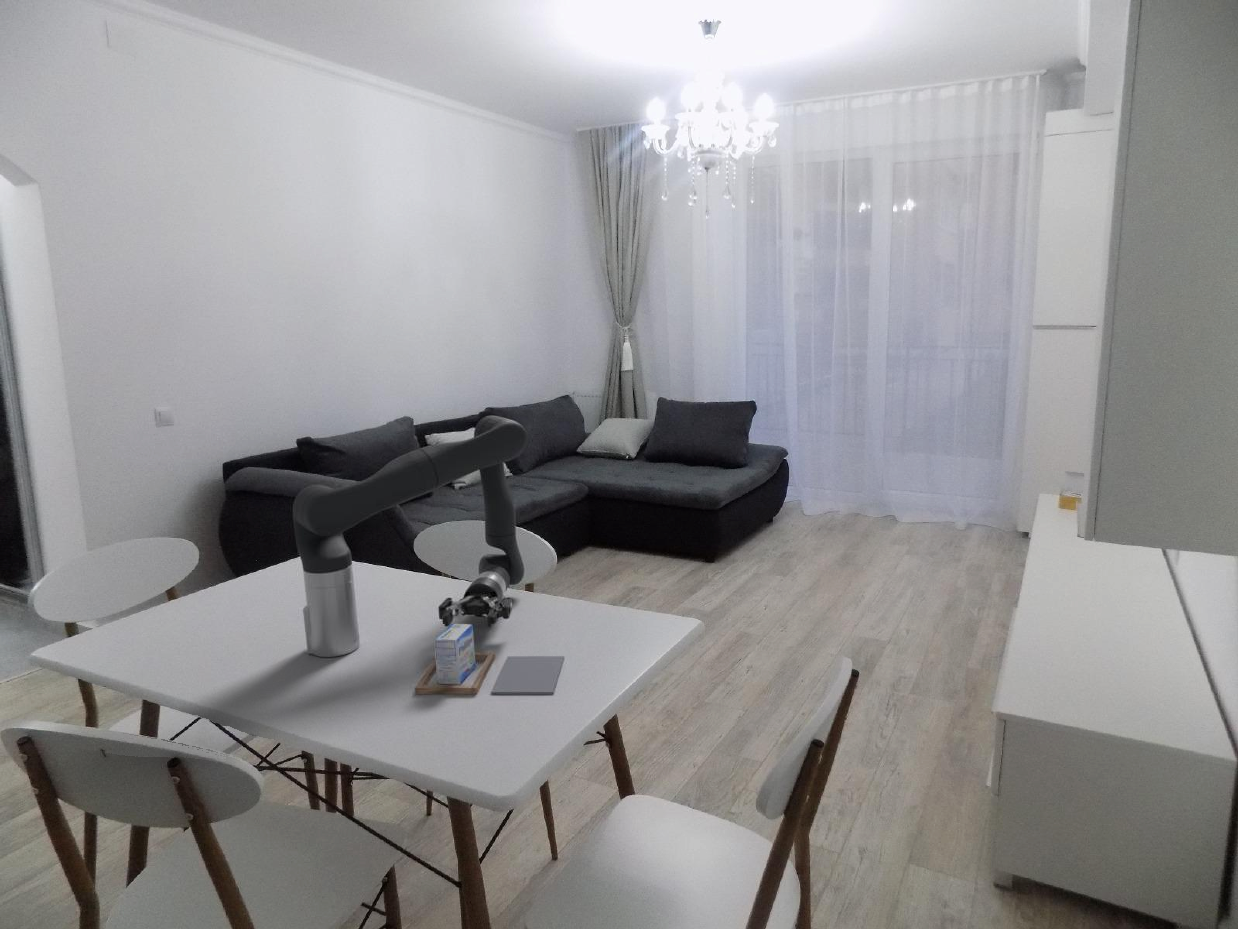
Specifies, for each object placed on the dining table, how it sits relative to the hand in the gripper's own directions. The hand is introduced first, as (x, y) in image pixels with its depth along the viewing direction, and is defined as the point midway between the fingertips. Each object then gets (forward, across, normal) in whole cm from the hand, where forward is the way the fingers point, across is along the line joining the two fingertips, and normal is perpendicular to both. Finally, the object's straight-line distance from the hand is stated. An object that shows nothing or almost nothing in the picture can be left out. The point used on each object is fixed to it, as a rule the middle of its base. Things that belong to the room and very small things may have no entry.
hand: (467, 621), depth 161 cm
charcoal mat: (+10, +14, +6) cm, 18 cm away
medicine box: (+10, 0, +7) cm, 12 cm away
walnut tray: (+10, 0, +6) cm, 12 cm away
